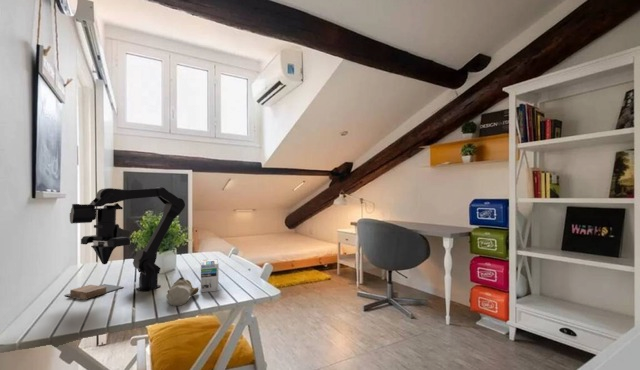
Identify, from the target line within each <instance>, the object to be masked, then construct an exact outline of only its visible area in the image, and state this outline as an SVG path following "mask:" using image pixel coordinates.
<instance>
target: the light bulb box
mask: <svg viewBox="0 0 640 370" xmlns="http://www.w3.org/2000/svg"><path fill="white" fill-rule="evenodd" d="M216 291H219V262H218V258H213V259H201V260H200V293H207V292H216Z"/></svg>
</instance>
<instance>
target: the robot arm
mask: <svg viewBox="0 0 640 370" xmlns="http://www.w3.org/2000/svg"><path fill="white" fill-rule="evenodd" d="M154 197H155V198H157V199H159V201H160V202H161V203H162V204H164V207H163V210H162V216H161V218H160V220H159V222H158V223H157V226H156V227H155V230H154V231H153V233H152V235H150V236H151V237H150V238H149V240H148V242H147V243H146V244H145V245H146V246H145V247H144V248H143V249H142V250H141V249H137V250H136V254H135V255H134V256H133V257H132V260H133V261H132V264H133V267H134V269H136V270H137V271H138V273H139V278H138V279H139V280H138V287H135V290H137V291H143V292H144V291H145V292H149V291H151V290H155V289H159V288H160V287H161V284H160V285H159V283H158V280H159V278H158V276H159V274H160V272H161V269H162V268H161V267H160V266H158V265H157V264H156V260H157V257H158V250H159V248H160V246H161V245H162V243H163V240H164V238H165V237H166V235H167V233H168V232H169V231H168V230H170V227H171V225H172V223H173V222H174V220H175V219H176V218H177V217H178V216H179V215H180V214H181V213H182V211H183V210H184V209H185V207H186V203H185V200H184V199H183V198H179V197H178V196H176V195H175V194H173V193H172V192H170V191H168V189H166V187H162V186H160V187H159V186H158V187H155V188H154V187H153V188H152V187H151V188H150V187H149V188H140V189H139V188H137V189H136V188H135V189H123V188H122V189H121V188H111V187H109V188H101V189H99V190H98V191H97V192H96V195H95V198H93V200H92V201H91V202H90V203H89V204H80V203H72V204H71V209H70V213H69V222H70V224H73V225H74V224H89V223H90V224H91V223H92V222H93V221H95V220H96V224H93V228H94V229H96V232H95V233H96V234H93V235H85V236H82V238H81V239H80V244H81V245H88V244H91V243H92V244H93V245H91V248H92V249H93V251H94V252H95V253H96V255H97V257H98V259H99V260H100V262H101V264H102V265H107V264H108V262H109V260H110V258H111V255H112V253H113V251H114V250H115V249H116V248H117V247H123V246H129V245H131V238H130V236H131V233H132V231H131V230H128V229H124V228H122V227H120V225H119V224H118V223H117V210H123V207H122V206H121V205H120V204H119V202H122V201H125V200H131V199H133V200H134V199H143V198H154ZM107 204H108V205H107ZM111 204H112V205H111ZM99 207H100V208H99Z"/></svg>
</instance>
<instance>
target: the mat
mask: <svg viewBox="0 0 640 370" xmlns="http://www.w3.org/2000/svg"><path fill="white" fill-rule="evenodd" d="M98 286H103V287H106V293H104V294H100V295H97V296H94V297H91V298H95V297H98V296H101V295H105V294H107V293H112V292H114V291H115V292H116V291H118V290H121V289H124V286H121V285H114V284H107V283H103V284H98ZM67 296H70V293H66V294H64V297H67ZM69 298H73V296H70V297H69ZM78 298H79V297H75V298H74V299H78ZM91 298H90V299H91ZM80 299H81V300H84V298H80ZM86 300H88V298H87V299H86Z"/></svg>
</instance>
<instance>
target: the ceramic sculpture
mask: <svg viewBox="0 0 640 370" xmlns="http://www.w3.org/2000/svg"><path fill="white" fill-rule="evenodd" d="M199 290H200V289H199V286H197V287H193V285H192V282H191V281H190V280H189V279H185V278H184V277H182V276H181V277H179V278H178V279H177V280H175V282H174V283H173V285H172V286H171V287H170V289H168V290H167V291H166V292H167V294H166V299H167V303H168V304H169V305H171V306H173V307H175V306H176V307H179V306H183V305H186V303H188V301H189V300H190V297H192V296H195V295H197V293H198V292H199Z"/></svg>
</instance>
